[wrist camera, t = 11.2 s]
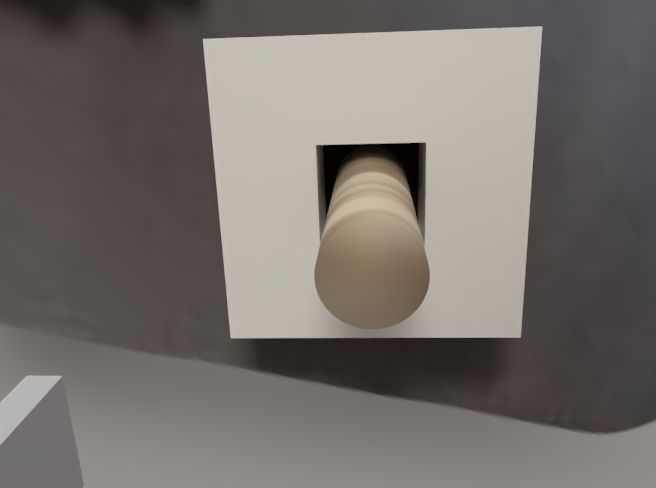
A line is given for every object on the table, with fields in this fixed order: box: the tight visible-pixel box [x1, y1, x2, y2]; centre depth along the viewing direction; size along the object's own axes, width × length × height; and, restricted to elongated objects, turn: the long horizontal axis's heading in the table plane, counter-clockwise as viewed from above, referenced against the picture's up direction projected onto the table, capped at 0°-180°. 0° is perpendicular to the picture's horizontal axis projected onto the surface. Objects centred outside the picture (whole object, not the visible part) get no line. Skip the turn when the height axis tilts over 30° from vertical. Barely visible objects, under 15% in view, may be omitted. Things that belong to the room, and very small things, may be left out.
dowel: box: [314, 144, 430, 329], centre depth 29 cm, size 4×4×16 cm
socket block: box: [203, 26, 542, 338], centre depth 34 cm, size 16×16×5 cm
